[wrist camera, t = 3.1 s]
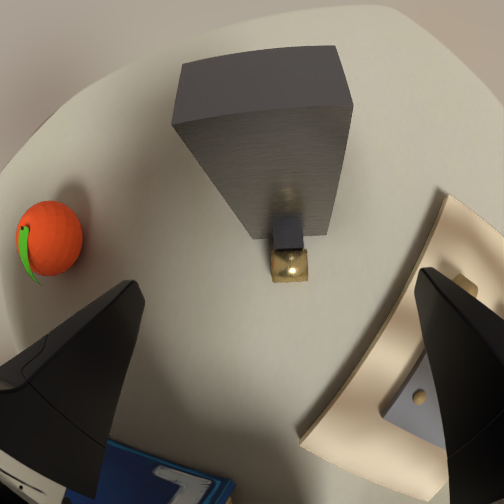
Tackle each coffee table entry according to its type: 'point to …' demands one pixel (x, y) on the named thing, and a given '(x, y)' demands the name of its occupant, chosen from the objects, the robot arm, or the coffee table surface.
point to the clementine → (48, 239)
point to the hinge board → (408, 370)
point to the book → (152, 481)
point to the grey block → (270, 141)
